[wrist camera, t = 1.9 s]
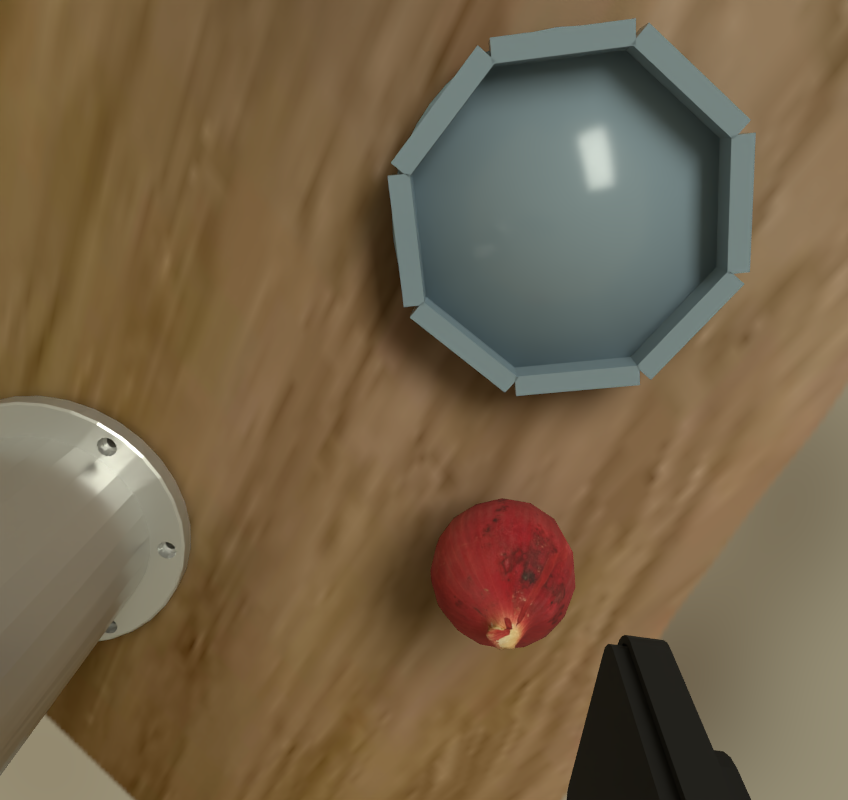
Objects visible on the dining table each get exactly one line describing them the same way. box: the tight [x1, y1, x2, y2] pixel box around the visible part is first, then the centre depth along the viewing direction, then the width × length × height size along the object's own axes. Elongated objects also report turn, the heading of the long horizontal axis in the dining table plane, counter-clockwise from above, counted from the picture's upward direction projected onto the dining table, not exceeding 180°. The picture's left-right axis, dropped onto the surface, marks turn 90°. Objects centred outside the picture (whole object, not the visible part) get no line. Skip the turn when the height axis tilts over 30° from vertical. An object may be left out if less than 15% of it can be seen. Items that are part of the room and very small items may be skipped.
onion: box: [431, 498, 575, 650], centre depth 29 cm, size 6×6×8 cm
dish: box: [388, 19, 756, 396], centre depth 27 cm, size 13×13×2 cm
